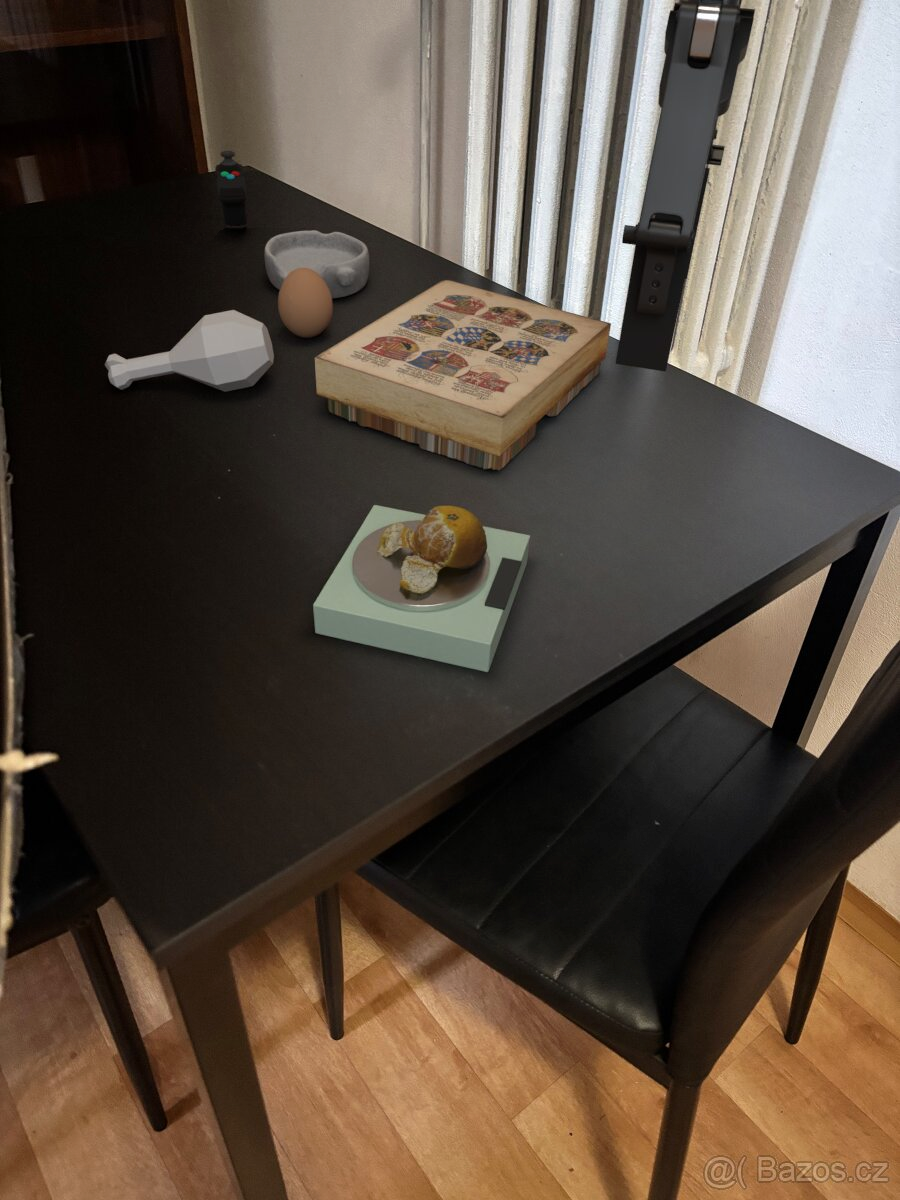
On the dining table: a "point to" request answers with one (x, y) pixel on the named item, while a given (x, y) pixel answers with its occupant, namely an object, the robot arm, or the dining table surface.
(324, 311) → the egg
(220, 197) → the controller
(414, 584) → the fruit
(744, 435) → the dining table surface
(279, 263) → the dish
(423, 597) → the scale pan
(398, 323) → the book
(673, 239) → the robot arm
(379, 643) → the scale
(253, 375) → the chicken leg
